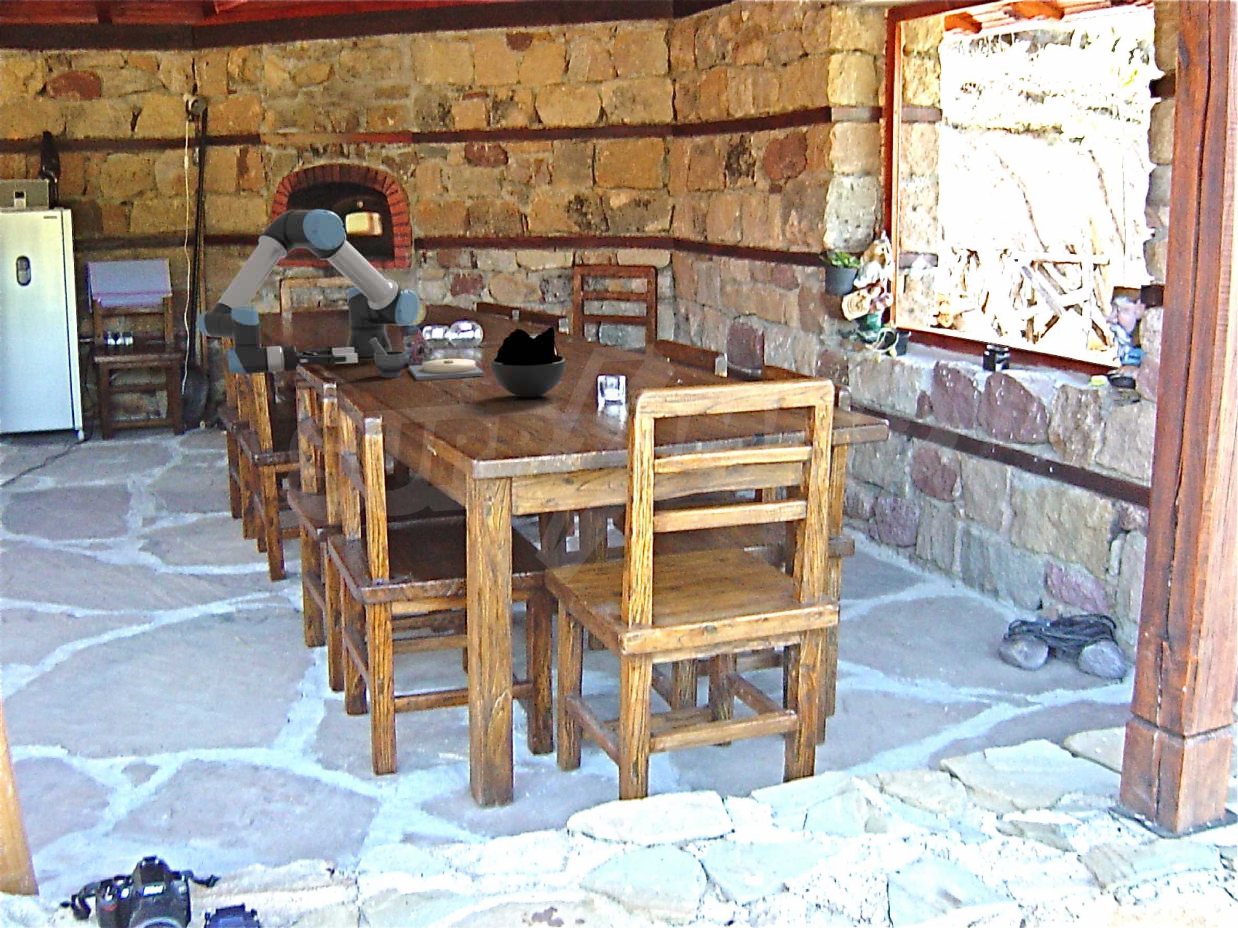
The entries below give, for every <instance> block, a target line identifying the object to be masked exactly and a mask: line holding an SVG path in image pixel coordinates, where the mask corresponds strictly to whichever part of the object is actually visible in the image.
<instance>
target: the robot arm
mask: <svg viewBox="0 0 1238 928" xmlns="http://www.w3.org/2000/svg"><path fill="white" fill-rule="evenodd" d="M343 226H344V223H343V221H342V219H341V218H340V216H339V215H338V214H337V213H335V212H333V211H331V210H327V209H322V208H320V209H319V208H318V209H317V208H315V209H290V210H287V211H284V212H283V213H281V214H280V215H279V216H277V217H276V218H275V219H274V220H272V222H271V223H270V224H268V226H267V227H266V228H265V230H264V231H263V232H262V233H261V235H260V236H259V238H258V245H257V246H256V248H255V249H254V250H253V252H252V253H251V255H250V256H249V258H248V259H247V260H246V262H245V263H244V264H243V266H242V267H241V269H240V270H239V272H238V273H237V275H236V276H235V278H234V279H233V280H232V281H231V283H230V284H229V285H228V287H227V288H226V290H225V291H224V293H223V294H222V295H221V297H220V299H219V300H218V301H217V302H216V304H215V306H214V307H213V308H212V310H207V311H204V312H202V313H200V315H199V316H198V319H197V328H198V330H199V331H200V333H201V334H202V335H204V336H207V337H210V338H224V339H225V338H226V339H233V347H232V348H230V349H228V350H227V354H228V355H227V357H228V367H229V368H228V369H229V372H230V373H231V374H233V375H236V374H237V375H239V374H240V375H241V374H242V375H243V374H244V375H247V374H248V375H250V374H262V373H265V374H266V373H272V374H273V375H275V374H276V373H277V372H279V373H280V372H283V370H284V371H286V372H296V371H297V370H296V367H297V368H298V364H300V365H301V366H309V365H310V366H314V365H315V366H331V367H333V368H334V367H336V365H339V364H355V363H356V364H357V363H358V362H359V360H358V359H359V358H370V357H372V358H374V353H375V351H374V349H373V347H372V345H370V344H369V341H370V340H371V339H372V338H375V337H376V338H377V339H378V342H379V344H380V345H381V346H382V348H383V349H384V350H385V351H393V349H392V345H391V342H390V339H389V337H388V334H387V332H386V325H390V326H398V327H403V326H410V325H411V324H413V323H414V322H415V321H416V320H417V318H418V316H419V313H420V312H419V311H420V300H419V297H418V295H417V294H416V292H415V291H413V290H410V289H403V288H402V287H401V286H400V285H399V284H398V283H397V282H396V281H395V280H393V279H386V278H385V277H384V276H383V275H382V274H381V272H379V270H377V269H376V268H375V267H374V266H373V265H372V264H371V263H370V261H368V260H367V259H366V258H365V257H364V256H363V255H362V254H361V253H360V252H359V251H358V250H357V249H356V248H355V247H354V246H353V245H352V244H351V243H350V242H349V241H347V234H346V232H345V228H344V227H343ZM295 249H307V250H309V251H310V252H311V253H312V254H313V255H314V256H315V257H316V258H317V259H319V260H322V261H323V260H324V261H325V260H326V261H327V262H329V263H330V264H331V265H332V266H333V267H334V268H335V269H336V270H337V271H338V272H339V273H340V274H341V275H343V276H344V277H345V279H347V280H348V281H349V282H350V283H351V284H352V286H354V287H351V288H349V289H348V290H347V307H348V318H349V319H348V321H349V336H348V339H347V342H346V343H347V344H346V347H335V348H334V347H333V346H332V345H329V346H328V347H325V348H323V347H322V348H315V349H309V350H308V349H307V350H306V349H303V350H299V351H298V352H297V347H296V346H295V345H283V346H282V347H281V346H280V345H277V346H275V345H273V346H262V344H261V331H260V328H261V327H260V318H259V311H258V308H257V307H255V306H248V305H249V304H250V302H251V301H252V300H253V298H254V297H255V295H256V294H257V292H259V289H260V288H261V287H262V286H263V284H264V283H265V282H266V279H267V278H268V277H269V275H270V274H271V273H272V271H273V270H274V268H275V267H276V265H277V264H278V263H279V261H280V260H281V259H284V258H287V256H288V255H289V253H290V252H291V251H293V250H295Z"/></svg>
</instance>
